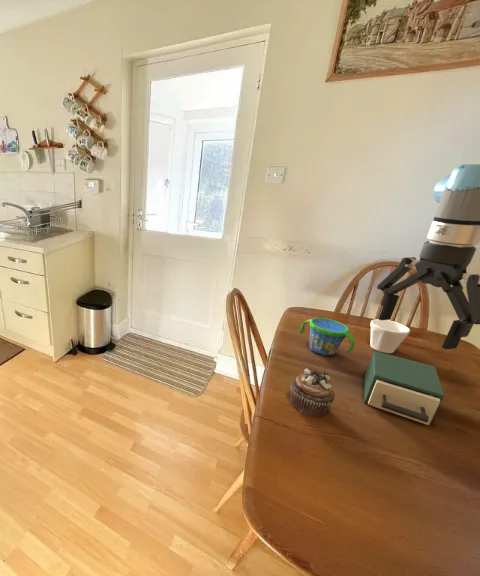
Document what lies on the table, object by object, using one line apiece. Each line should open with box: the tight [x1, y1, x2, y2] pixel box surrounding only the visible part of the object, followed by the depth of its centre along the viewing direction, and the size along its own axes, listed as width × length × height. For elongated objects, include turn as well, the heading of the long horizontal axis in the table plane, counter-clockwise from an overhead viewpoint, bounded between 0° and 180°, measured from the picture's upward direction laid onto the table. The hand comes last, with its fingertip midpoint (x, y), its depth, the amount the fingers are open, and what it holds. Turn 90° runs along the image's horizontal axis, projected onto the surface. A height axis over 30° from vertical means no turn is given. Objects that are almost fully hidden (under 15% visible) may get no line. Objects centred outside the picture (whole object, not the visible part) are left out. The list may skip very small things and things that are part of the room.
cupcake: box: [290, 368, 336, 417], centre depth 82 cm, size 10×10×10 cm
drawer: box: [367, 379, 441, 426], centre depth 81 cm, size 18×11×7 cm, turn 141°
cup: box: [369, 318, 411, 355], centre depth 107 cm, size 10×10×9 cm
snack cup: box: [299, 317, 355, 357], centre depth 106 cm, size 16×10×10 cm
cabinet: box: [363, 350, 445, 426], centre depth 84 cm, size 15×13×9 cm
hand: (413, 332), depth 73 cm, fingers open, 13 cm apart
